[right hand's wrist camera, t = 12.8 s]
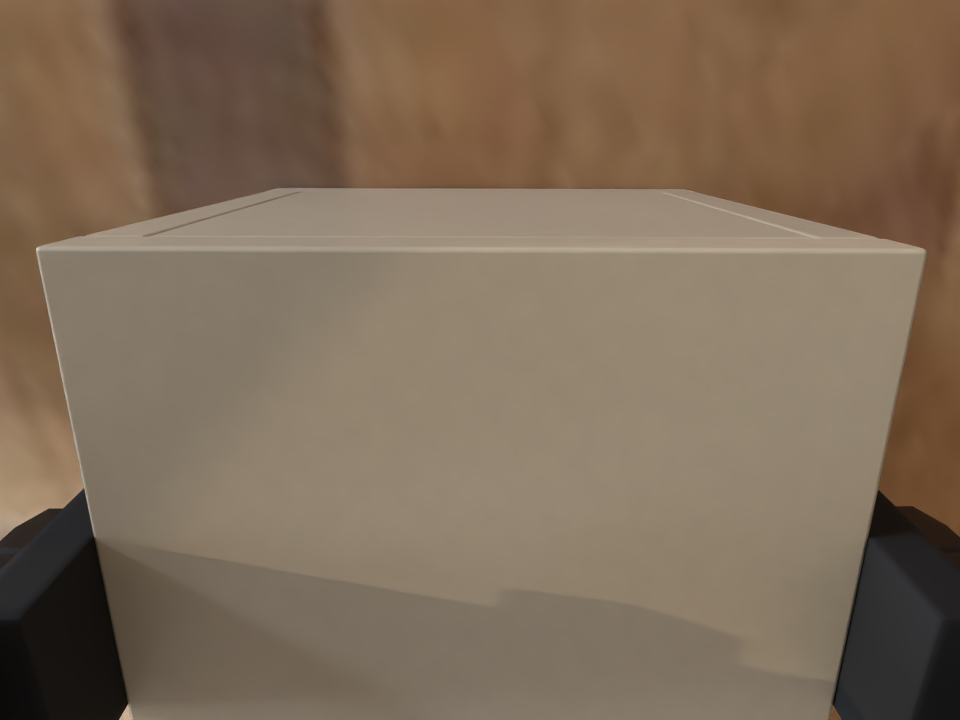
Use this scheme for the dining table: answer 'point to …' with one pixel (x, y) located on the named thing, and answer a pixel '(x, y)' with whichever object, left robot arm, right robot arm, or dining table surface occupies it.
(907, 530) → the right robot arm
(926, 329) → the dining table surface
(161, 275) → the cabinet
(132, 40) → the dining table surface
